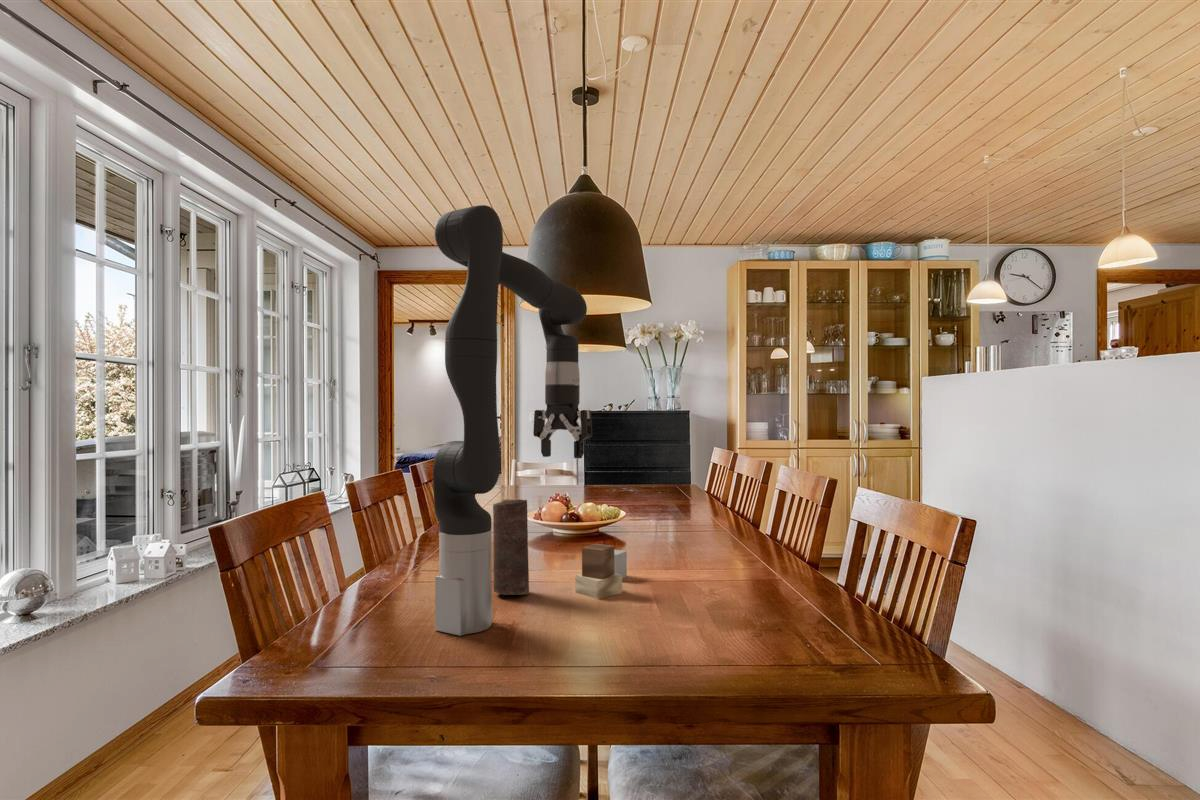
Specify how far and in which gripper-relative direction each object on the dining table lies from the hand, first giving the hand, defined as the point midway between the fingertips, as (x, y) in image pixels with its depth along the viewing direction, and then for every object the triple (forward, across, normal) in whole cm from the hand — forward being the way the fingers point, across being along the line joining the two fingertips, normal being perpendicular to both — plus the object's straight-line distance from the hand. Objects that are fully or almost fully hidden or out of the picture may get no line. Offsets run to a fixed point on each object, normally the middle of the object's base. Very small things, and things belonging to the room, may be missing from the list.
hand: (562, 457), depth 145 cm
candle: (+29, -6, -10) cm, 31 cm away
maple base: (+29, +9, +1) cm, 30 cm away
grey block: (+28, +5, +13) cm, 32 cm away
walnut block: (+25, +9, +1) cm, 26 cm away
